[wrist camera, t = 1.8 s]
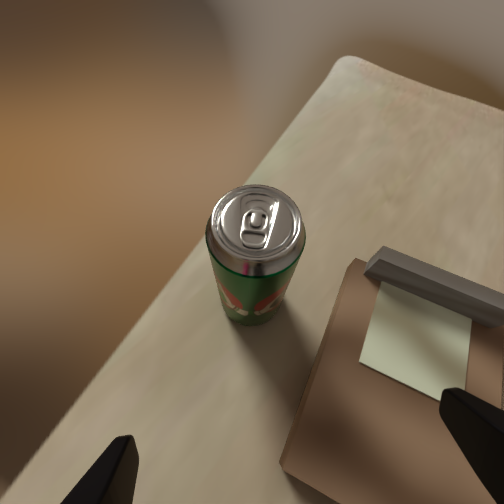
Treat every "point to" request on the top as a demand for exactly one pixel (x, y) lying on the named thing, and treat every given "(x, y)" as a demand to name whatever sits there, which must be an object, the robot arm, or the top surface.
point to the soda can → (254, 250)
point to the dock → (396, 385)
